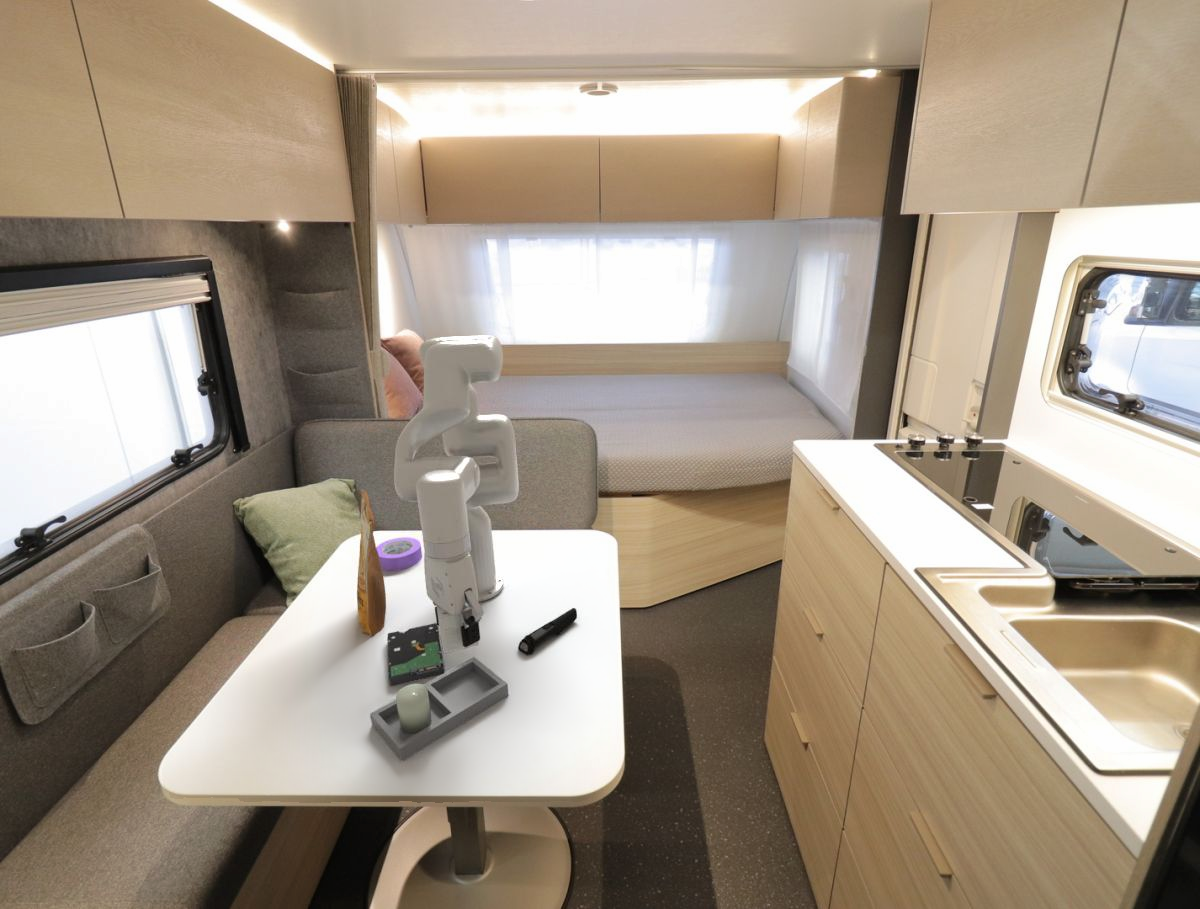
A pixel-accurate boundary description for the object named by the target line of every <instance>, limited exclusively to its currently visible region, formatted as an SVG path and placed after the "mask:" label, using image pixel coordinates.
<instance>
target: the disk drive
mask: <svg viewBox="0 0 1200 909" xmlns="http://www.w3.org/2000/svg"><path fill="white" fill-rule="evenodd" d="M441 646H442V644H441V638H440V630H439V626H437V622H436V623H431V624H427V625H421V626H416V627H411V628H408V629H407V630H405V631H404V632H401V631H399V630H398V631H393V632H388V633H387V661H388V662H387V663H388V665H387V666H388V668H387V673H388V680H389V682H388V683H389V686H390V687H394V686H398V685H403V684H406V683H412V682H415V681H420V680H424V679H428V678H433V677H438V676H440V675H442V674H444V673H445V665H444V658H443V652H442V647H441Z"/></svg>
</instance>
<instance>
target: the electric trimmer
mask: <svg viewBox="0 0 1200 909" xmlns="http://www.w3.org/2000/svg"><path fill="white" fill-rule="evenodd" d="M577 618H578V612H577V608H575V607H574V608H573V607H572V608H571V609H568V611H566V612H564V613H563V614H560V615H559V616H558V617H556V618H554V619H553V620H551V621H549V622H547V623H545V624H544V625H542V626H541V627H539V628H537V629H535V630H534V631H532V632H530V633H529V634H527V635H525V636H524V637H523V639H521V640H520V642H519V643H518V645H517V646H518V647H517V650H518V651H519V652H520V653H522V654H524V655H526V656H529V655H530V656H531V655H533V653H534V651H535V649H536V648H538V647H539V646H540V645H542V644H543V643H545V642H546V641H547V640H549V639H550V638H552V637H554V636H556V635H557V636H558V635H561V633H562V632H564V631H565V630H566V629H567V628H568V627H570V625H572V623H574V622H575V621H576V620H577Z"/></svg>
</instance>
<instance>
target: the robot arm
mask: <svg viewBox="0 0 1200 909" xmlns="http://www.w3.org/2000/svg"><path fill="white" fill-rule="evenodd" d="M418 353H419V358H420V363H421V365H422V368H423V372H424V373H423V394H422V396H423V400H422V402H423V406H422V408H421V409H420V410H419V411H418V412H417V413H416V414H415V415H413V417H412V418H411V419H410V420H409V421H408V422H407V424H405V426H404V428H403V429H402V431H401V433H400V434H399V436H398V439H397V441H396V445H395V453H394V454H395V455H394V466H393V467H394V470H393V481H394V482H393V483H394V488H395V492H396V494H397V496H398V498H399V499H401V500H402V501H404V502H407V503H408V502H409V503H417V506H418V511H419V512H418V513H419V520H420V527H421V536H422V541H423V549H424V556H423V557H424V560H423V563H424V564H423V565H424V566H423V567H424V577H425V578H424V579H425V580H424V581H425V590H426V596H427V597H428V598H429V599H430V600H431V602H432V604H433V605H434V612H435V613H434V614H435V620H436V621H435V622H436V623H437V626H438V627H439V621H438V613H437V606H436V604H437V605H438V606H440V607H441V608H442V609H444V610H445V611H446V612H448V613H449V614H451V615H453V616H457V615H459V617H460V620H461V622H462V625H463V626H461V635H462V643H463V646H464V647H468V646H470V645H472V644H474V643H475V642H477V641H478V642H479V641H480V640H481V633H480V622H481V620H482V616H483V615H484V612H485V611H484V609H483V607H482V606H481V604H480V602H484V601H487V600H490V599H493V598H494V597H496V596H497V595H499V594H500V593H501V592H502V590H503V589H504V580H503V578H502V577H501V575H499V574H498V573H496V564H495V562H496V561H495V554H494V553H495V552H494V543H493V542H494V541H493V540H494V539H493V530H492V521H491V519H490V517H489V514H488V513H487V512H486V510H485V509H484V508H483V507H482V506H487V505H502V504H508V503H512V502H514V501H515V500H517V498H518V495H519V490H520V485H519V482H520V481H519V472H518V471H519V470H518V458H517V451H516V450H517V449H516V447H517V446H516V436H515V430H514V427H513V423H512V420H511V419H510V418H509V417H508V416H507V415H504V414H498V413H494V414H481V413H480V410H479V396H478V392H477V390H476V389H475V388H474V387H473V385H472V384H480V383H493V382H497V381H498V380H499V378H500V376H501V374H502V369H503V364H504V352H503V348H502V344H501V342H500V340H499V338H498V337H496V336H495V335H490V334H489V335H467V336H466V335H464V336H463V335H462V336H461V335H460V336H442V337H435V338H430V339H427V340H424V341H423V342H422V343H421V344H420V345H419V350H418ZM440 435H441V436H442V444H443V449H444V452H445V454H446V455H447V456H435V457H420V458H419V457H418V458H415V455H416V453H417V452H418V450H419V449H420V448H421V447H422V446H423V445H424V444H426V443H427V442H428V441H430V440H432V439H433V438H436V437H437V436H440ZM488 457H489V458H495V459H496V462H494V461H493V462H482V463H478V462H476V460H475V458H488ZM465 603H467V604H468V605H469V606H467V607H465V608H464V604H465ZM468 610H470V611H471V614H472V615H471V616H470V617H469V618H468V619H466V617H465V614H464V612H466V611H468Z"/></svg>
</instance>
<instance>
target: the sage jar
mask: <svg viewBox="0 0 1200 909" xmlns="http://www.w3.org/2000/svg"><path fill="white" fill-rule="evenodd" d="M395 700H396V703H397V709H398V715H399V721H400V726H401V730H402V731H403V732H405V733H407V734H416V733H419V732H420V731H422V730H424V729H425V728H427V727H429V725H430V724H431V721H432V717H431V710H430V704H429V697H428V690H427V688H426V686H424V685H423V684H421V683H411V684H408V685H405V686H404V687H402V688H400V689H399V690H398V691H397V693H396V694H395Z"/></svg>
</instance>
